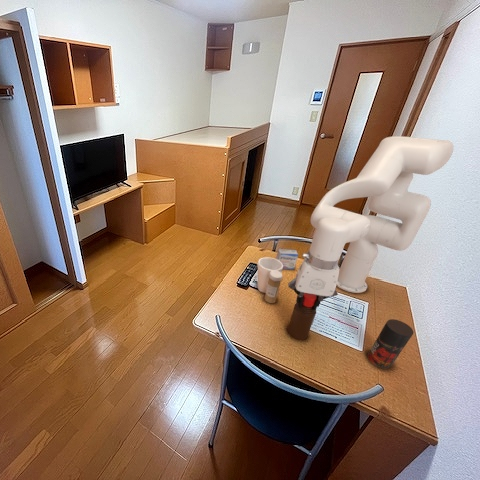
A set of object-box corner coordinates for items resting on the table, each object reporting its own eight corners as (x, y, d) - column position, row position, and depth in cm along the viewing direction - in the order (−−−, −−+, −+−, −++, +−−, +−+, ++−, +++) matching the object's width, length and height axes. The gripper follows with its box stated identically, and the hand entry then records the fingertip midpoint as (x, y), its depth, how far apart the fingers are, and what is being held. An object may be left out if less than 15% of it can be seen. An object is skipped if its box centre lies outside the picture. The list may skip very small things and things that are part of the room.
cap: (298, 302, 83) (301, 294, 82) (303, 296, 85) (306, 289, 84) (310, 308, 81) (313, 301, 79) (316, 302, 83) (318, 295, 81)
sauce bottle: (296, 322, 95) (308, 287, 85) (311, 336, 90) (325, 299, 80) (283, 329, 93) (293, 293, 83) (297, 343, 88) (310, 306, 78)
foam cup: (252, 292, 109) (257, 267, 103) (254, 279, 117) (259, 255, 110) (276, 298, 106) (283, 272, 99) (277, 284, 113) (283, 259, 107)
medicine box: (276, 268, 122) (280, 253, 118) (274, 263, 126) (278, 248, 122) (294, 269, 121) (298, 254, 117) (291, 264, 125) (295, 249, 120)
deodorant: (362, 352, 84) (381, 320, 76) (380, 350, 84) (400, 318, 76) (377, 369, 78) (399, 337, 71) (396, 367, 79) (419, 334, 71)
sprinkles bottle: (278, 300, 105) (285, 274, 98) (271, 305, 103) (277, 279, 96) (268, 294, 108) (274, 268, 101) (261, 298, 106) (267, 272, 99)
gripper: (291, 262, 74) (279, 308, 83) (360, 272, 69) (338, 320, 78) (289, 248, 80) (278, 293, 89) (352, 256, 75) (333, 303, 84)
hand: (306, 305), depth 84 cm, fingers closed on cap, 3 cm apart
